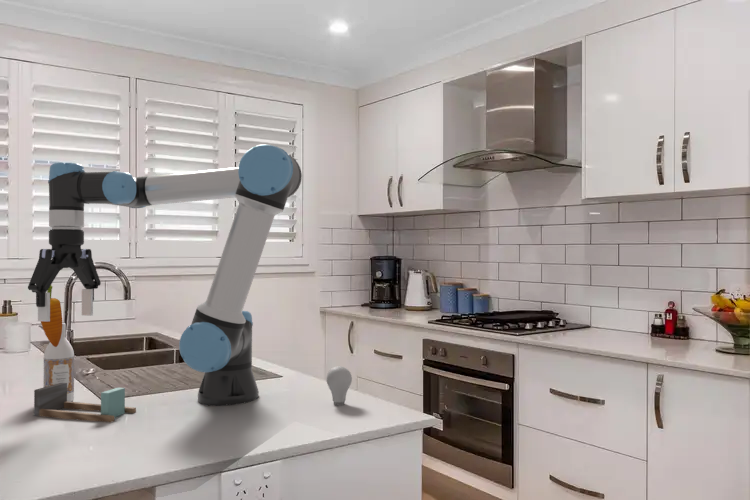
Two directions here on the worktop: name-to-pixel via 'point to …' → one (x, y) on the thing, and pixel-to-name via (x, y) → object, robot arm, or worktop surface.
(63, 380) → the bath foam
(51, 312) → the carrot
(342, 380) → the lightbulb
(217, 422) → the worktop surface
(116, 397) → the cap
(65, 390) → the track
